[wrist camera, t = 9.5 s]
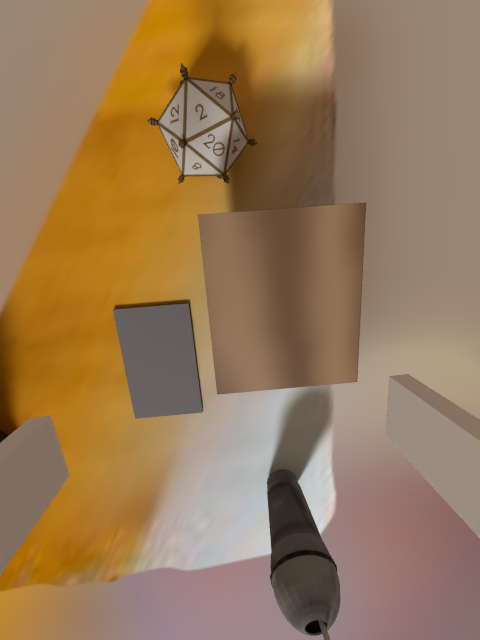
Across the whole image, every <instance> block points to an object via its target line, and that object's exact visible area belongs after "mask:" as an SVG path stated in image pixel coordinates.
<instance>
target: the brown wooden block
mask: <svg viewBox="0 0 480 640" xmlns="http://www.w3.org/2000/svg"><path fill="white" fill-rule="evenodd" d="M365 213H366V203H354V204H340V205H326V206H312V207H298V208H284V209H271V210H257V211H243V212H229V213H215V214H201V215H198V220H199V229H200V238H201V248H202V257H203V266H204V275H205V285H206V294H207V303H208V313H209V322H210V331H211V340H212V350H213V359H214V368H215V377H216V387H217V394H228V393H239V392H250V391H261V390H272V389H283V388H295V387H306V386H317V385H328V384H339V383H350V382H357V377H358V356H359V336H360V315H361V295H362V275H363V274H362V273H363V254H364V234H365Z"/></svg>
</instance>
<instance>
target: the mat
mask: <svg viewBox="0 0 480 640" xmlns="http://www.w3.org/2000/svg"><path fill="white" fill-rule="evenodd" d="M113 312H114V317H115V322H116V326H117V331H118V336H119V341H120V346H121V351H122V356H123V360H124V365H125V370H126V375H127V380H128V385H129V390H130V395H131V399H132V404H133V409H134V414H135V418H146V417H157V416H168V415H179V414H190V413H201V412H203V409H202V401H201V394H200V386H199V378H198V370H197V362H196V354H195V346H194V338H193V330H192V322H191V315H190V307H189V303H182V304H170V305H157V306H145V307H133V308H120V309H113Z"/></svg>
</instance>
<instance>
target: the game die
mask: <svg viewBox="0 0 480 640" xmlns="http://www.w3.org/2000/svg"><path fill="white" fill-rule="evenodd" d="M180 73H181V74H182V76H183V78H184V80H183V81H182V80H181V82H180V86H179V88H178V89H177V91H176V93H175V94H174V96H173V97H172V99H171V100H170V102H169V104H168V105H167V107H166V108H165V110H164V112H163V113H162V115H161V116H160V118H159V120H156V119H155V118H154V119H153V118H152V117H151V119H149V120H147V121H148V122H149V123H150V124H151V125H154V126H155V125H158V126H159V128H160V130H161V132H162V134H163V136H164V138H165V141H166V143H167V145H168V147H169V149H170V151H171V153H172V155H173V157H174V159H175V161H176V163H177V165H178V167H179V169H180V172H181V176H179V178H178V179H179V182H178V184H180V183H182V182H183V180H184V177H185V176H217V177H218V178H220V179H221V178H222V176H223V179H224V182H226V183H228V184H229V178H228V176H227V175H226V173H227V172H228V171H229V169H230V168H231V166H232V165H233V164H234V162H235V161H236V159H237V158H238V157H239V155H240V154H241V152H242V151H243V150H244V148H245V147H246V146H247V144H250V146H251V145H255V144H257V142H256V141H255V139H253V140H252V139H251V140H249V139H248V136H247V133H246V130H245V126H244V123H243V120H242V117H241V114H240V111H239V107H238V104H237V101H236V98H235V95H234V92H233V89H232V84H234V81H235V80H236V73H234V74H232V75H230V78H229V82H228V83H227V82H220V81H213V80H206V79H199V78H191V77H188V72H187V68H186V67H184V66H183V64H182V63H181V69H180Z"/></svg>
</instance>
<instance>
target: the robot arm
mask: <svg viewBox="0 0 480 640" xmlns="http://www.w3.org/2000/svg"><path fill="white" fill-rule="evenodd" d="M387 405H388V407H387V421H386V436H387V437H388V439H389V440H390V441H391V442H392V443H393V444H394V445H395V446H396V447H397V448H398V449H399V451H400V452H401V453H402V454H403V455H404V456H405V457H406V458H407V459H408V460H409V461H410V463H411V464H412V465H413V466H414V467H415V468H416V469H417V470H418V471H419V472H420V474H421V475H422V476H423V477H424V478H425V479H426V480H427V481H428V482H429V483H430V484H431V485H432V487H433V488H434V489H435V490H436V491H437V492H438V493H439V494H440V495H441V497H442V498H443V499H444V500H445V501H446V502H447V503H448V504H449V505H450V506H451V507H452V508H453V510H454V511H455V512H456V513H457V514H458V515H459V516H460V517H461V518H462V519H463V521H464V522H465V523H467V525H468V526H469V527H470V528H471V529H472V530H473V532H475V534H476V535H477V536H478V537H479V538H480V420H479V419H478V418H476V417H475V416H473V415H471V414H470V413H468V412H467V411H465V410H464V409H462V408H460V407H459V406H457V405H455V404H454V403H453V402H451V401H449V400H448V399H446V398H445V397H443V396H441V395H440V394H438V393H437V392H435V391H434V390H432V389H430V388H429V387H427V386H426V385H424V384H422V383H421V382H419V381H418V380H416V379H415V378H413V377H412V376H410V375H408V374H405V375H397V376H390V377H389V390H388V404H387ZM68 477H69V473H68V469H67V466H66V463H65V460H64V457H63V454H62V451H61V447H60V444H59V441H58V438H57V435H56V432H55V428H54V425H53V422H52V419H51V416H45V417H37V418H29V419H28V420H27V421H26V422H25V423H23V424H22V425H21V426H20V427H19V428H17V429H16V430H15V431H14V432H13V433H11V434H10V435H9V436H6V435H5V434H3V433H2V432H0V575H1V573H2V572H3V570H4V569H5V568H6V566H7V565H8V563H9V562H10V560H11V559H12V557H13V556H14V555H15V553H16V552H17V550H18V549H19V547H20V546H21V545H22V543H23V542H24V540H25V539H26V537H27V536H28V534H29V533H30V532H31V530H32V529H33V527H34V526H35V524H36V523H37V522H38V520H39V519H40V517H41V516H42V514H43V513H44V511H45V510H46V509H47V507H48V506H49V504H50V503H51V501H52V500H53V498H54V497H55V496H56V494H57V493H58V491H59V490H60V488H61V487H62V486H63V484H64V483H65V481H66V480H67V478H68Z"/></svg>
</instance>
